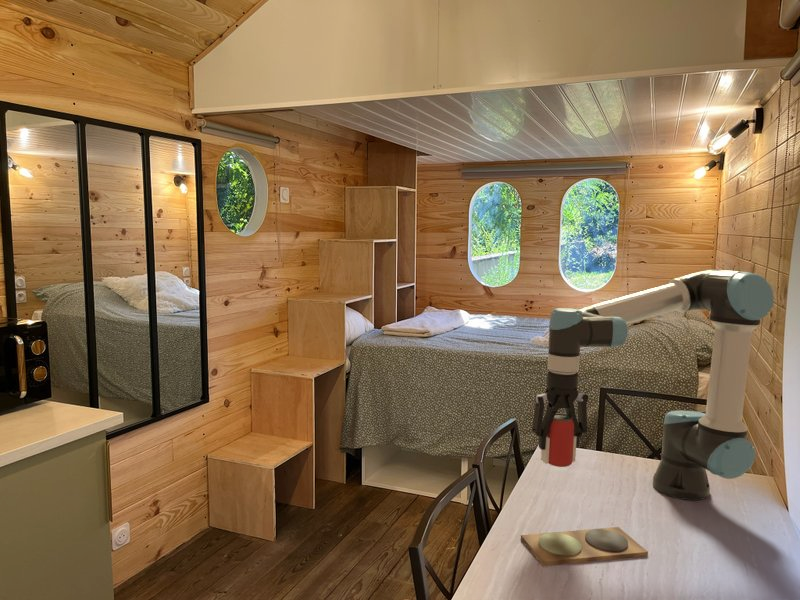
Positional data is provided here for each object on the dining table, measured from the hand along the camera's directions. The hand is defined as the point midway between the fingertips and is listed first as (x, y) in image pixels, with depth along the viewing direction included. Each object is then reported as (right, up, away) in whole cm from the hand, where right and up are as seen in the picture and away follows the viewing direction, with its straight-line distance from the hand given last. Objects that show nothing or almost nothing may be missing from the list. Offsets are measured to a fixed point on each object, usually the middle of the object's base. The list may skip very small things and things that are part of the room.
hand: (558, 460), depth 154 cm
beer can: (0, -1, 0) cm, 1 cm away
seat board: (+3, -18, -11) cm, 21 cm away
